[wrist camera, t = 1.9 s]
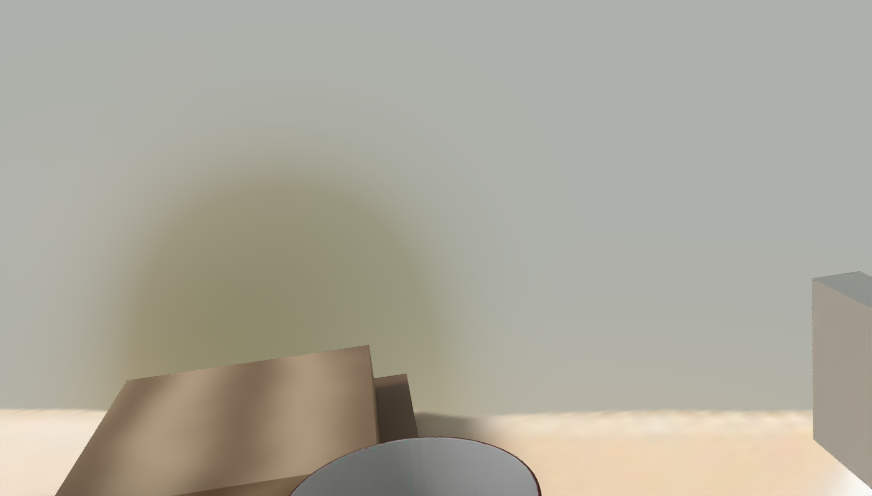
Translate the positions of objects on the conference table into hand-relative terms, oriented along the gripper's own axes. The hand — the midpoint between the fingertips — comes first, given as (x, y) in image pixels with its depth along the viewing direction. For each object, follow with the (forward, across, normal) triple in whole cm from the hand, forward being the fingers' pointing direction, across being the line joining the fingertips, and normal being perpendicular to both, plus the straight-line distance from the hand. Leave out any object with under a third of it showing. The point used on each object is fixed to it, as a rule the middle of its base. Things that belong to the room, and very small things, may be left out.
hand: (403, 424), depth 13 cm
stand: (+28, -8, -18) cm, 34 cm away
